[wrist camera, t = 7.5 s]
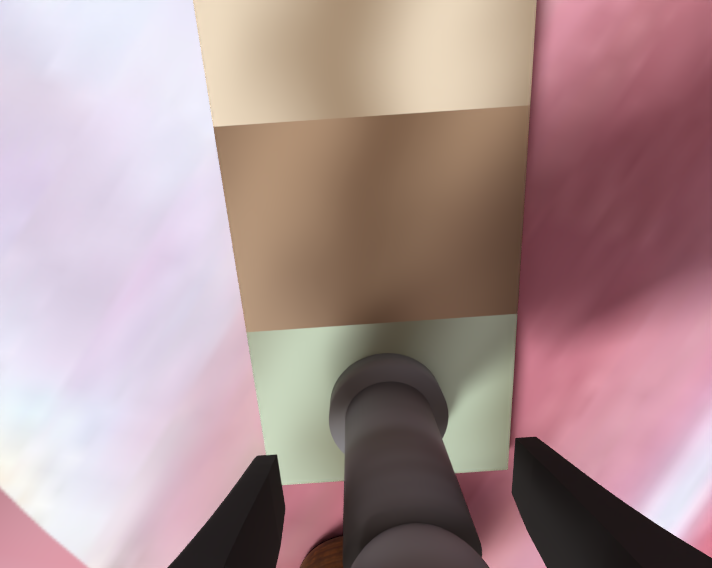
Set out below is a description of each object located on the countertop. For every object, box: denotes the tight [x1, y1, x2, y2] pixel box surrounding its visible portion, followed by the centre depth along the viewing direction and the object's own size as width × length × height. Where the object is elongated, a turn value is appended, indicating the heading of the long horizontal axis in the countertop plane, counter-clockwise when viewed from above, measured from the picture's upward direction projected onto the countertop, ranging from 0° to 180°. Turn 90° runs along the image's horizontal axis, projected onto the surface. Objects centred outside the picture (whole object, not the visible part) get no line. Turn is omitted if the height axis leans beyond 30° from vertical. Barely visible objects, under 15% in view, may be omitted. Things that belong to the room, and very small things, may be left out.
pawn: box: [329, 353, 489, 568], centre depth 9 cm, size 4×4×9 cm
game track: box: [193, 0, 537, 485], centre depth 12 cm, size 10×21×1 cm, turn 4°
